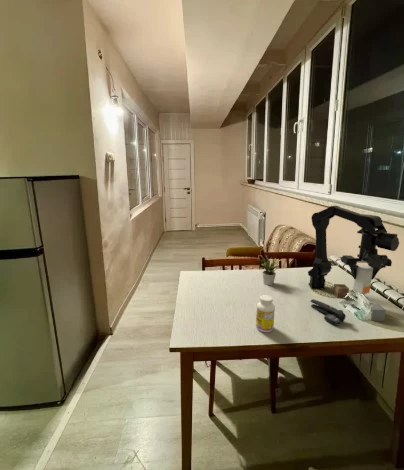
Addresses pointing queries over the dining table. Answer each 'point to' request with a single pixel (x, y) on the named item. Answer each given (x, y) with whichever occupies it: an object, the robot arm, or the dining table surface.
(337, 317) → the can opener
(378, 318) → the slate block
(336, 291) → the walnut block
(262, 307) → the supplement bottle
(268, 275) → the house plant
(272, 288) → the dining table surface
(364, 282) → the skincare box
